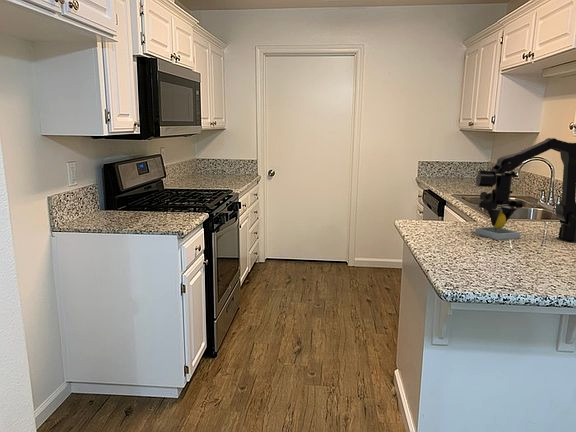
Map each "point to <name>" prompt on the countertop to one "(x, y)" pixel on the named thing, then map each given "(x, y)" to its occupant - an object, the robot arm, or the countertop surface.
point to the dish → (497, 233)
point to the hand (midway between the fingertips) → (498, 224)
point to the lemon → (500, 221)
